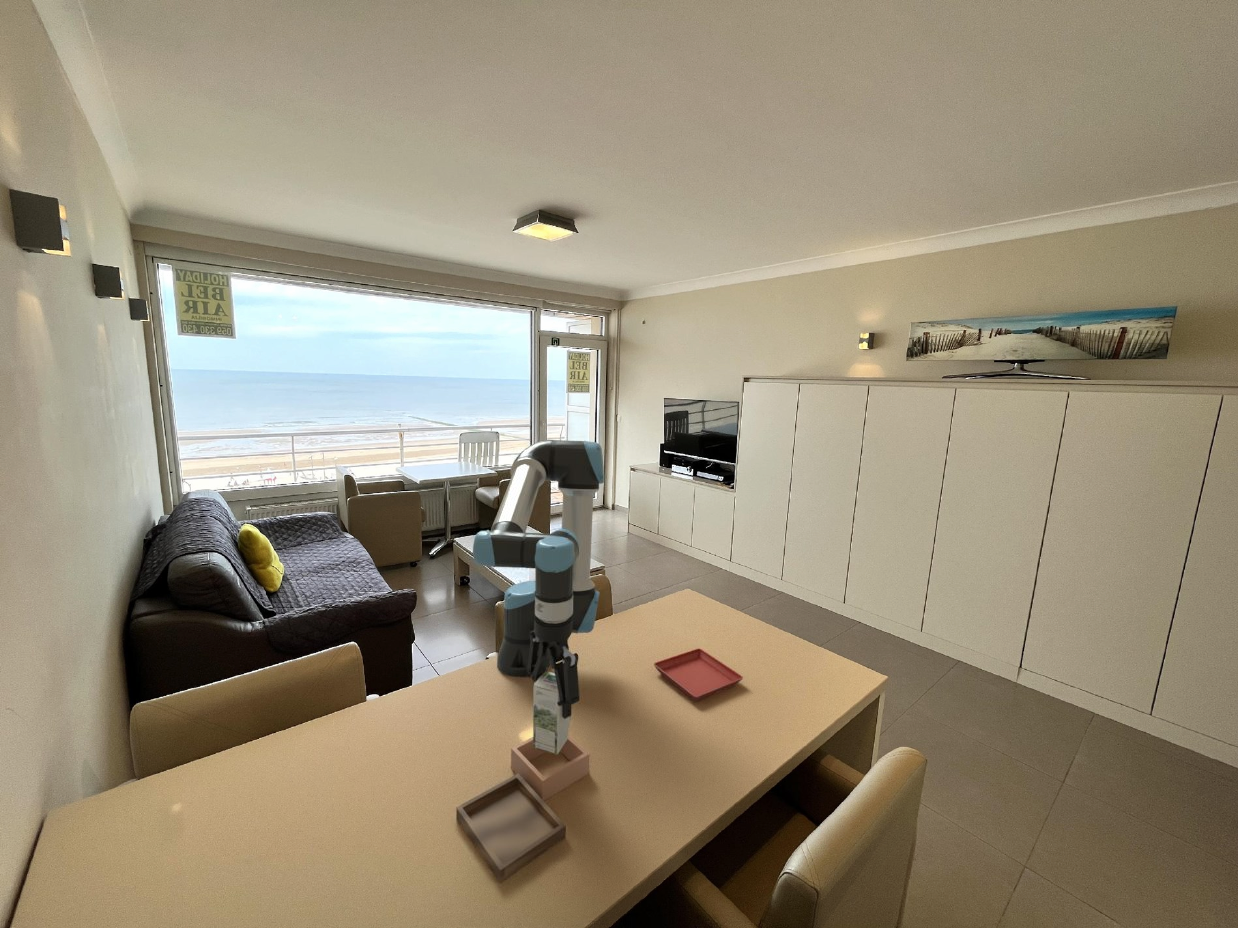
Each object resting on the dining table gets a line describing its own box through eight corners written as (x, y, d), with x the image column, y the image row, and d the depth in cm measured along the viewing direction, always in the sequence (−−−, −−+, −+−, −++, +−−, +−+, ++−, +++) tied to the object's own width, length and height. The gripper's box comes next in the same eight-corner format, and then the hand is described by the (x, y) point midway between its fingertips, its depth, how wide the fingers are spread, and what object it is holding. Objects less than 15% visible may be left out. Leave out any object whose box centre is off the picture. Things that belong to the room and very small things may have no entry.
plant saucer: (743, 687, 139) (744, 676, 139) (694, 708, 129) (695, 696, 129) (698, 657, 154) (699, 647, 153) (651, 674, 144) (652, 663, 143)
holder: (510, 767, 106) (511, 747, 105) (556, 743, 114) (556, 724, 113) (542, 801, 98) (542, 780, 97) (588, 773, 105) (589, 753, 105)
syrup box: (569, 737, 107) (570, 674, 105) (557, 756, 102) (558, 690, 99) (545, 730, 109) (546, 668, 107) (531, 748, 104) (532, 684, 101)
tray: (456, 818, 93) (456, 807, 93) (518, 783, 102) (518, 773, 101) (500, 883, 81) (500, 870, 81) (565, 837, 90) (565, 825, 90)
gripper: (510, 602, 106) (509, 701, 109) (569, 642, 91) (566, 755, 95) (540, 593, 111) (539, 688, 114) (601, 629, 96) (597, 737, 100)
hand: (551, 718), depth 104 cm, fingers closed on syrup box, 8 cm apart
